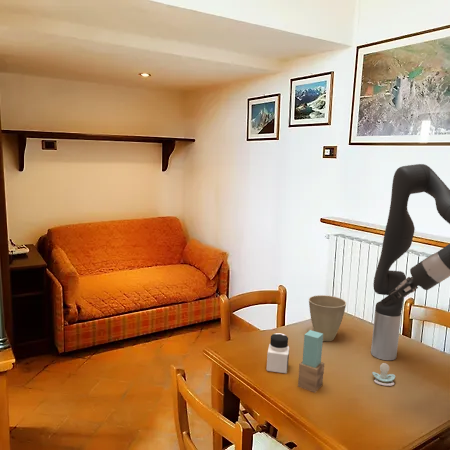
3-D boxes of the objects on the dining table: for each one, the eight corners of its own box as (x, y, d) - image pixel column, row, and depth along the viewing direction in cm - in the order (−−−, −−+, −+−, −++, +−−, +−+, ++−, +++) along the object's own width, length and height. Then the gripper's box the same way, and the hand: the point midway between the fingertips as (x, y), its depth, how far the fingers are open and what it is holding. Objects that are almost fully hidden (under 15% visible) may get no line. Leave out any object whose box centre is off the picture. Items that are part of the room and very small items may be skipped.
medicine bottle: (287, 373, 146) (289, 341, 144) (266, 371, 148) (268, 338, 146) (288, 364, 153) (290, 332, 151) (268, 361, 155) (270, 330, 153)
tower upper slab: (306, 368, 143) (307, 357, 142) (323, 374, 139) (324, 362, 139) (298, 375, 138) (299, 363, 137) (315, 381, 135) (316, 369, 134)
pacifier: (396, 388, 140) (393, 379, 146) (398, 371, 139) (395, 362, 145) (373, 385, 142) (370, 376, 147) (375, 368, 140) (372, 359, 146)
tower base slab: (305, 379, 144) (306, 368, 143) (322, 385, 140) (323, 373, 140) (297, 386, 139) (298, 375, 138) (315, 393, 135) (316, 381, 135)
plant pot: (342, 332, 183) (345, 297, 180) (343, 347, 168) (347, 309, 166) (306, 328, 186) (309, 293, 183) (305, 342, 172) (308, 304, 169)
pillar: (307, 358, 141) (310, 330, 140) (320, 362, 139) (323, 333, 137) (302, 363, 138) (304, 334, 136) (315, 368, 135) (317, 338, 134)
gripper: (427, 255, 128) (384, 284, 136) (418, 265, 116) (371, 295, 125) (445, 275, 126) (399, 303, 134) (437, 287, 114) (388, 317, 123)
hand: (386, 300), depth 130 cm, fingers open, 8 cm apart
